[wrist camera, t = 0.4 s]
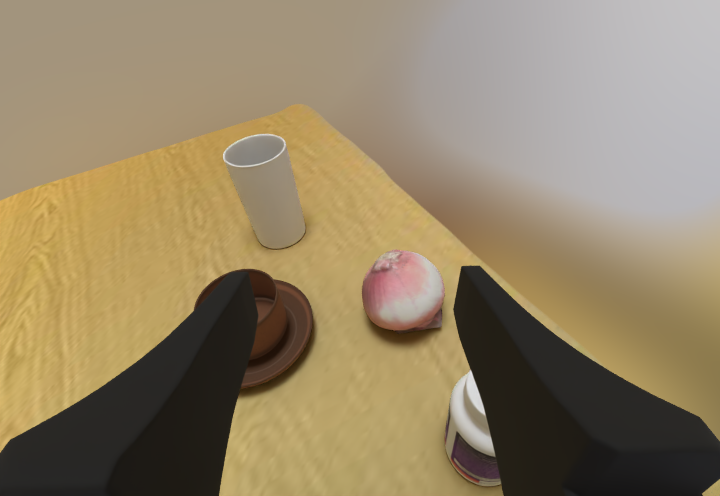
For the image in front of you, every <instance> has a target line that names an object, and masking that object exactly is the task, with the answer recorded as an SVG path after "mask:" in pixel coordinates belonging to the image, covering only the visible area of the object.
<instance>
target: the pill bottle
mask: <svg viewBox="0 0 720 496" xmlns="http://www.w3.org/2000/svg"><path fill="white" fill-rule="evenodd" d="M445 448H446V452H447V455H448V457H449V460H450V462H451V463H452V465H453V466H454V468H455V469H456V470H457V471H458V472H459V473H460V474H461V475H462V476H463V477H464V478H466V479H467V480H469V481H470V482H473V483H475V484H478V485H481V486H496V485H500V484H501V480H500V475H499V470H498V466H497V461H496V457H495V452H494V448H493V444H492V439H491V435H490V431H489V427H488V423H487V419H486V415H485V410H484V407H483V404H482V400H481V397H480V394H479V391H478V388H477V386H476V383H475V380H474V377H473V374H472V372H471V370H470V371H469V373H467V374H466V375H464V376H463V377H462V378H461V379H460V380H459V381H458V382H457V383H456V385H455V387H454V389H453V391H452V394H451V398H450V403H449V410H448V416H447V423H446V430H445Z"/></svg>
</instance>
